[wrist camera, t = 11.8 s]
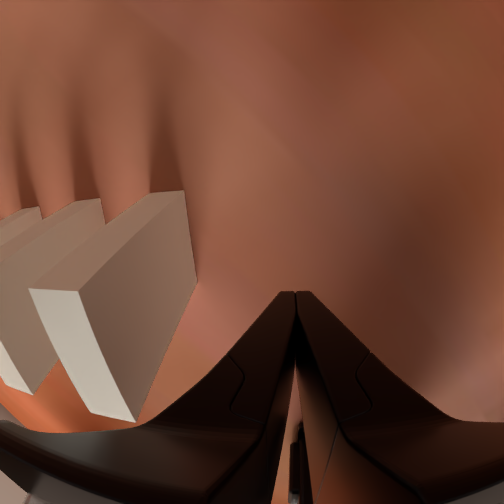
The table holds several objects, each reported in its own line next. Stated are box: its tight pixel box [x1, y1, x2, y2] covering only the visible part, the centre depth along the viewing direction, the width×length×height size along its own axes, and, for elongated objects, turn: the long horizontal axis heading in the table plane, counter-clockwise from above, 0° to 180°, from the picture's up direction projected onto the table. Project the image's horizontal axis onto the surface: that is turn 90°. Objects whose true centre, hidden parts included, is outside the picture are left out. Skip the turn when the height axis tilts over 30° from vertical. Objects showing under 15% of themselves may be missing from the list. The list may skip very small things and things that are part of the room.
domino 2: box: [0, 198, 106, 395], centre depth 11 cm, size 2×4×8 cm, turn 4°
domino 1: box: [28, 190, 197, 423], centre depth 10 cm, size 2×4×8 cm, turn 4°
